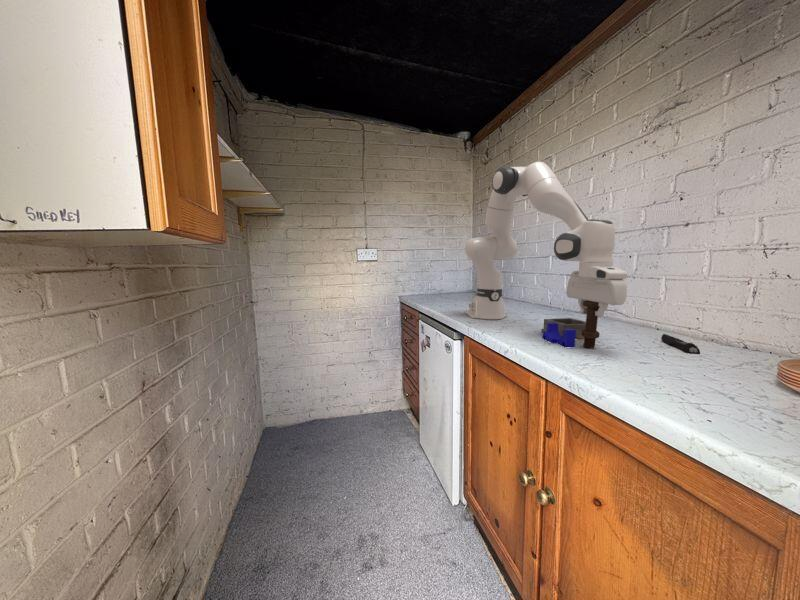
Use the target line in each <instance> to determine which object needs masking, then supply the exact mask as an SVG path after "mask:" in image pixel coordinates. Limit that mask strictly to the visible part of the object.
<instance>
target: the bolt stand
mask: <svg viewBox="0 0 800 600" xmlns="http://www.w3.org/2000/svg"><path fill="white" fill-rule="evenodd" d="M547 323H558V331H559V334H560V335H561V337H562V336H563V334H564V329H574V330H576V338H575V339H577V340H584V337H583V336H582V334H581V333H582V330H585V325H586V320H581V319H577V318H573V317H563V318H561V317H560V318H544V319H543V328H541V333H543V331H547Z"/></svg>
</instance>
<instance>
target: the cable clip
mask: <svg viewBox="0 0 800 600" xmlns="http://www.w3.org/2000/svg"><path fill="white" fill-rule="evenodd" d="M541 338H542V340H544V341H546V342H548V341H549V343H550V342H551V343H550V344H556V345H559V346H561V347H563V346H564V347H563V348H565V347H575V346H576V340H575V338H576V330H574V329H564V334H563V336H562V337H561V335H560V334H559V331H558V323H547V331H543V332H542V336H541ZM575 348H576V347H575Z"/></svg>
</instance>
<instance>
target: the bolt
mask: <svg viewBox="0 0 800 600" xmlns="http://www.w3.org/2000/svg"><path fill="white" fill-rule="evenodd" d="M598 304H599V303H598V302H592V301H584V302H583V306H585V307H587V310H586V311H587V314H585V315H586V317H585V322H586V325H585V330H582V333H581V334H582V336H583V337H584V339H583V344H582V345H583V347H584V348H585V347H586V348H585V349H594V348H595V347H596V340H597V339H598V338H600V331H598V329H597V328H598V319H599V317H596V316H595V311H598V309H599V307H600V306H598Z"/></svg>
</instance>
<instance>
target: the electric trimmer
mask: <svg viewBox="0 0 800 600" xmlns="http://www.w3.org/2000/svg"><path fill="white" fill-rule="evenodd" d="M660 340H661V341H662V342H664V343H666V344H667V345H669V346H670V345H671V346H670V347H676V348H677V349H679V350H682V351H683V352H684V353H685V354H688V353H689V355H692V354H693V355H700V354H701V351H700V349H699V347H698V346H697V345H696V344H695V343H693V342H687V341H684V340H681V339H680V338H678V337H677V338H676V337H674V336H672V335H670V334H666V333H663V334H662V335H661V337H660Z"/></svg>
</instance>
